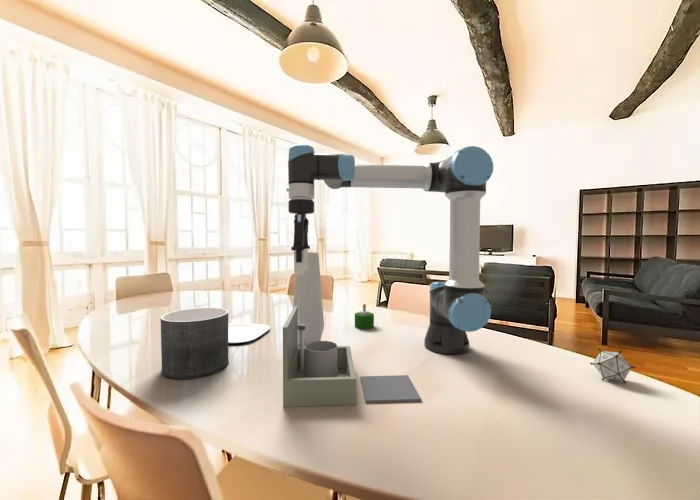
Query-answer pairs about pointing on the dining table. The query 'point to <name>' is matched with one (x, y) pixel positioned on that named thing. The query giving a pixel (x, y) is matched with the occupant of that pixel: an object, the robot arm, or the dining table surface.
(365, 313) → the candle
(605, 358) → the game die
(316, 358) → the cup
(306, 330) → the vase
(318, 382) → the case
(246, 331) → the plate
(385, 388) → the mat
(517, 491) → the dining table surface
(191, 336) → the planter
